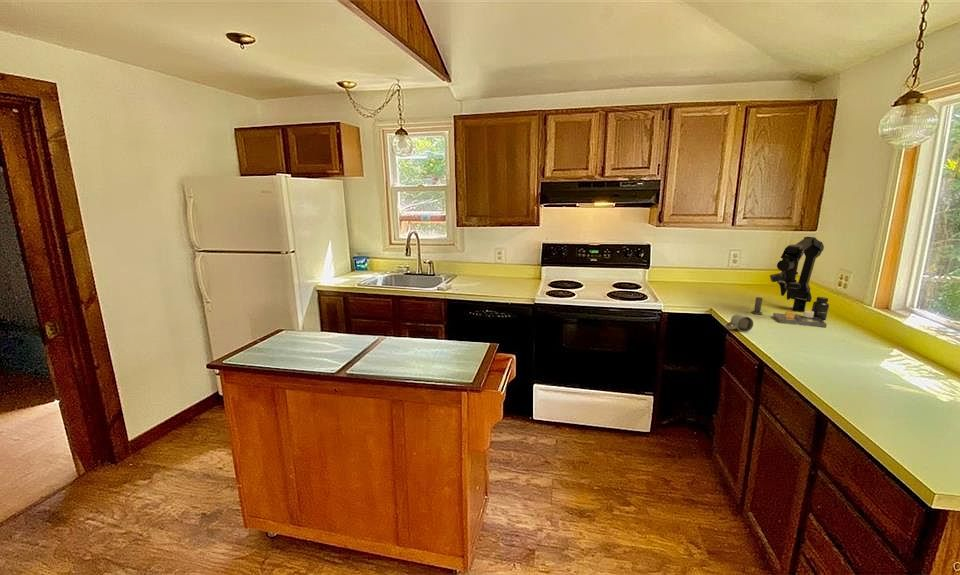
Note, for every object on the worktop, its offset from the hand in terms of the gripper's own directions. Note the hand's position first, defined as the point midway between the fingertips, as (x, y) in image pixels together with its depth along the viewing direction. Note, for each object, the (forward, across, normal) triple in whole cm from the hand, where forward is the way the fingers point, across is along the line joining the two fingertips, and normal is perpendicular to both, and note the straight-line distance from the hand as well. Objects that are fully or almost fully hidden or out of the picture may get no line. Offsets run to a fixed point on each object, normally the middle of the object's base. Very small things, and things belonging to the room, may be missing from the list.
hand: (785, 297), depth 230 cm
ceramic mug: (+11, +35, -28) cm, 47 cm away
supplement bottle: (+11, -1, +17) cm, 20 cm away
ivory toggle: (+8, +6, +10) cm, 14 cm away
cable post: (+11, 0, -12) cm, 16 cm away
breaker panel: (+10, +9, +5) cm, 15 cm away
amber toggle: (+9, +11, 0) cm, 14 cm away
